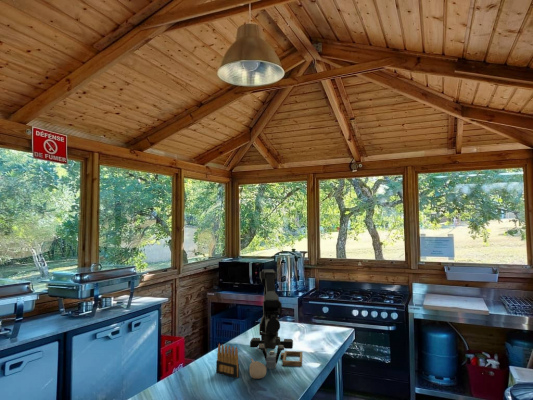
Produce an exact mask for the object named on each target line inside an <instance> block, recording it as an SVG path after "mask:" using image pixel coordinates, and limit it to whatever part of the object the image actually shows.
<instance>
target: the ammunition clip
mask: <svg viewBox="0 0 533 400" xmlns="http://www.w3.org/2000/svg"><path fill="white" fill-rule="evenodd" d="M217 346H218V347H217V354H216V362H215V363H216V367H215V369H216V370H215V373H216V374H217V375H222V376H225V377H230V378H234V379H238V378H239V377H240V364H239V349H238V347H237V346H236V347H234V346H232V347H231V345H227V344H225V345H224V344H223V343H222V344H220V342H219V343H218V345H217Z"/></svg>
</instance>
